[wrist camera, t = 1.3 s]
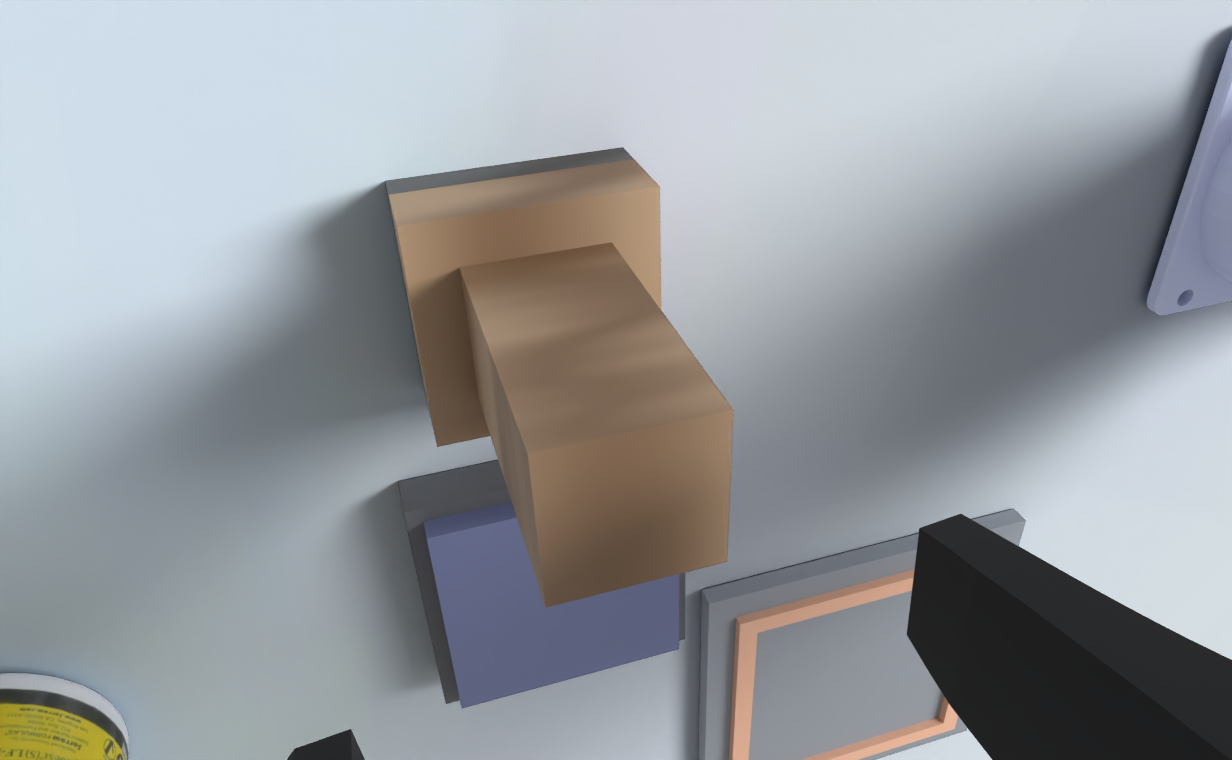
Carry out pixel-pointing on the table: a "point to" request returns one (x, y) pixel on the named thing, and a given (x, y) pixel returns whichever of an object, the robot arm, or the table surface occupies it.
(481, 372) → the stamp
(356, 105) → the table surface
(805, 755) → the board
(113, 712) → the supplement bottle
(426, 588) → the ink pad
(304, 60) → the table surface
